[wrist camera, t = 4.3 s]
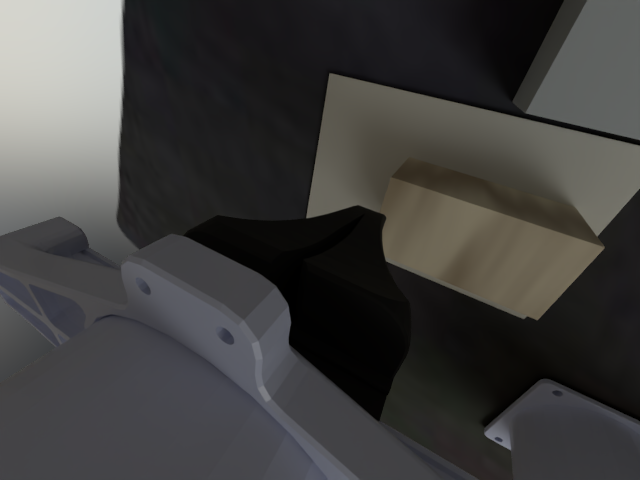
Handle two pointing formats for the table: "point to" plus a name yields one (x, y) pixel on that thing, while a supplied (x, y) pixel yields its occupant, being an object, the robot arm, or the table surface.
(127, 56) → the table surface
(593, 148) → the felt mat
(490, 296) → the birch block
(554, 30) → the slate block
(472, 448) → the table surface
